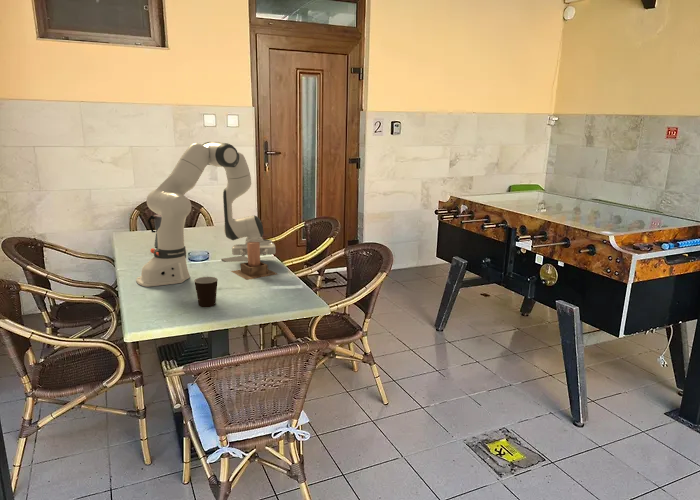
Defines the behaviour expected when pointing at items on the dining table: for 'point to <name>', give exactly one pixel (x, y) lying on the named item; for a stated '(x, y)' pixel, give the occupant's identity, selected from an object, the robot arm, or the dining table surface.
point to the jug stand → (254, 271)
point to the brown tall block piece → (253, 254)
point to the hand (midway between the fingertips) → (253, 253)
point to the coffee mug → (206, 291)
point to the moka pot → (157, 221)
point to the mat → (235, 259)
